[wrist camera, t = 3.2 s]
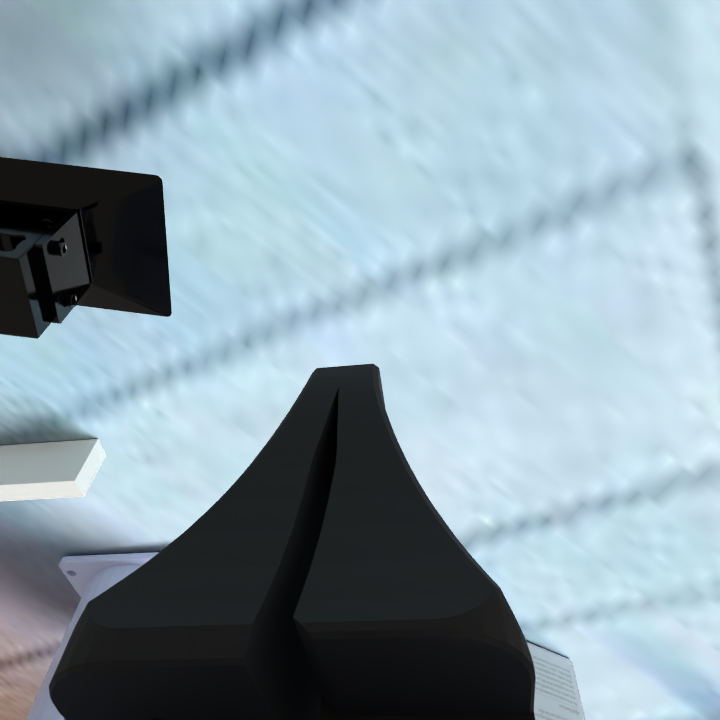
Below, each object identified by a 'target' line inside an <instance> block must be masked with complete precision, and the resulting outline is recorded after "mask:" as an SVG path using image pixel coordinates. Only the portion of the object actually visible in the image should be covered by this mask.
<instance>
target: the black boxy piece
mask: <svg viewBox="0 0 720 720" xmlns="http://www.w3.org/2000/svg"><path fill="white" fill-rule="evenodd" d="M76 305H80V306H88V307H95V308H103V309H111V310H119V311H127V312H135V313H142V314H150V315H158V316H166V317H168V316H170V315H171V313H172V312H171V298H170V284H169V270H168V256H167V241H166V227H165V213H164V199H163V185H162V180H161V178H160V177H159V176H157V175H149V174H141V173H132V172H124V171H115V170H106V169H98V168H89V167H81V166H72V165H63V164H55V163H46V162H38V161H29V160H20V159H12V158H3V157H0V334H3V335H11V336H20V337H28V338H36V339H38V338H39V337H40V335H41V334H42V333H43V332H44V331H45V329H46V328H47V327H48V326H49V325H50V323H51V322H52V323H61V322H62V321H63V320H64V319H65V317H66V316H67V315H68V314H69V312H70V311H71V310H72V309H73V307H75V306H76Z"/></svg>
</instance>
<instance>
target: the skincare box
mask: <svg viewBox="0 0 720 720" xmlns="http://www.w3.org/2000/svg"><path fill="white" fill-rule="evenodd" d="M527 645H528V647H529V650H530V653H531V657H532V660H533V664H534V668H535V676H536V680H535V697H534V715H535V720H585V716H584V712H583V707H582V703H581V699H580V694H579V689H578V685H577V681H576V676H575V672H574V668H573V664H572V661H571V660H570V659H567V658H565V657H562V656H560V655H557V654H555V653H553V652H550V651H548V650H545V649H543V648H540V647H538V646H535V645H533V644H531V643H528V642H527Z"/></svg>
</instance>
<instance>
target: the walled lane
mask: <svg viewBox="0 0 720 720" xmlns="http://www.w3.org/2000/svg"><path fill="white" fill-rule="evenodd" d="M105 457H106V453H105V451H104V449H103V447H102V445H101V443H100V441H99V440H98V439H90V440H75V441H61V442H46V443H32V444H17V445H2V446H0V501H17V500H35V499H53V498H70V497H84V496H85V494H86V493H87V491H88V489H89V487H90V485H91V483H92V481H93V479H94V477H95V476H96V474H97V472H98V470H99V468H100V466H101V464H102V462H103V460H104V459H105Z"/></svg>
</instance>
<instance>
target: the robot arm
mask: <svg viewBox="0 0 720 720" xmlns="http://www.w3.org/2000/svg"><path fill="white" fill-rule="evenodd" d="M59 567H60V569H61V570H62V572H63V573H64V575H65V576H66V578H67V579H68V580H69V582H70V583H71V585H72V586H73V587H74V589H75V590H76V592H77V593H78V594H79V596H80V597H81V600H80V602H79V604H78V606H77V608H76V611H75V613H74V615H73V617H72V619H71V622H70V624H69V626H68V628H67V630H66V633H65V635H64V637H63V639H62V641H61V643H60V646H59V648H58V650H57V652H56V654H55V657H54V659H53V661H52V663H51V665H50V668H49V670H48V672H47V674H46V676H45V679H44V681H43V683H42V685H41V687H40V690H39V692H38V694H37V696H36V698H35V701H34V703H33V705H32V707H31V709H30V711H29V714H28V716H27V718H26V720H535V715H534V697H535V680H536V676H535V668H534V664H533V660H532V657H531V653H530V650H529V647H528V645H527V642H526V640H525V637H524V635H523V633H522V631H521V628H520V626H519V624H518V622H517V620H516V618H515V616H514V614H513V612H512V610H511V608H510V606H509V604H508V602H507V600H506V599H505V597H504V595H503V593H502V591H501V589H500V587H499V586H498V585H497V584H496V583H495V582H494V581H493V580H492V579H491V577H490V576H489V575H488V574H487V573H486V572H485V571H484V570H483V569H482V568H481V567H480V565H479V564H478V563H477V562H476V561H475V560H474V559H473V558H472V556H471V555H470V554H469V553H468V551H467V550H466V549H465V548H464V547H463V545H462V544H461V543H460V542H459V540H458V539H457V538H456V537H455V535H454V534H453V532H452V531H451V530H450V528H449V527H448V526H447V524H446V523H445V521H444V520H443V519H442V517H441V516H440V515H439V513H438V512H437V510H436V509H435V508H434V506H433V505H432V503H431V501H430V500H429V498H428V497H427V495H426V494H425V492H424V490H423V489H422V487H421V485H420V484H419V482H418V480H417V479H416V477H415V475H414V473H413V471H412V470H411V468H410V466H409V464H408V462H407V460H406V458H405V456H404V454H403V452H402V450H401V448H400V445H399V443H398V441H397V439H396V436H395V434H394V432H393V429H392V426H391V424H390V421H389V418H388V416H387V413H386V410H385V404H384V397H383V390H382V384H381V377H380V371H379V368H378V367H377V366H376V365H374V364H364V365H352V366H339V367H327V368H317V369H316V370H315V371H314V372H313V373H312V375H311V376H310V378H309V380H308V382H307V383H306V385H305V387H304V388H303V390H302V392H301V393H300V395H299V397H298V398H297V400H296V401H295V403H294V405H293V406H292V408H291V409H290V411H289V412H288V414H287V415H286V417H285V418H284V420H283V421H282V423H281V424H280V426H279V427H278V429H277V430H276V431H275V433H274V434H273V436H272V437H271V438H270V440H269V441H268V442H267V444H266V445H265V446H264V448H263V449H262V450H261V452H260V453H259V454H258V455H257V457H256V458H255V459H254V461H253V462H252V463H251V464H250V466H249V467H248V468H247V469H246V470H245V472H244V473H243V474H242V475H241V476H240V477H239V479H238V480H237V481H236V482H235V483H234V484H233V485H232V486H231V487H230V489H229V490H228V491H227V492H226V493H225V494H224V495H223V496H222V497H221V498H220V499H219V500H218V501H217V502H216V503H215V504H214V505H213V506H212V507H211V508H210V509H209V510H208V511H207V512H206V513H205V514H204V515H203V516H201V517H200V518H199V519H198V520H197V521H196V522H195V523H194V524H193V525H192V526H191V527H190V528H188V529H187V530H186V531H185V532H184V533H183V534H182V535H180V536H179V537H178V538H177V539H175V540H174V541H173V542H172V543H171V544H169V545H168V546H167V547H166V548H164V549H163V550H162V551H161V552H153V553H130V554H108V555H85V556H66V557H63V558H62V559H61V561H60V563H59Z"/></svg>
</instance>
